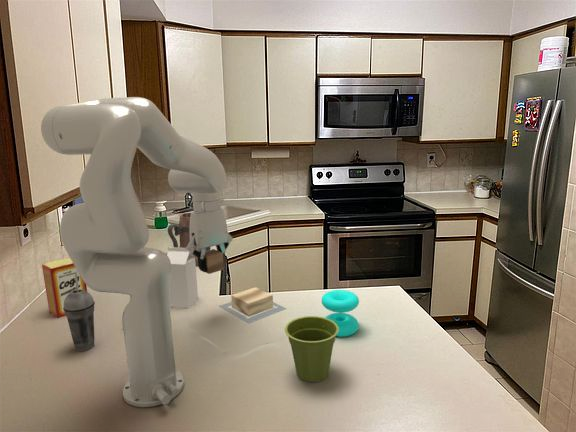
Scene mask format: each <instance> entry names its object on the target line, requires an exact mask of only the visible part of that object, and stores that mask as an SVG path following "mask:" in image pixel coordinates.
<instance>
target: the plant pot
mask: <svg viewBox="0 0 576 432" xmlns="http://www.w3.org/2000/svg"><path fill="white" fill-rule="evenodd" d="M338 331H339V328H338V325H337V324H336V323H335V322H334V321H332V320H330V319H327V318H325V317H323V316H319V315H318V316H316V315H305V316H301V317H296V318H294V319H292V320H290V321H288V323H286V325H285V326H284V332H285V334H286V336H287V337H288V342H289V344H290V347H291V352H292V357H293V362H294V367H295V371H296V372H295V373H296V375H297V377H298V378H299V379H300V380H302V381H308V382H309V383H318V382H321V381H324V380H325V379H326V378H327V377H328V375H329V372H330V365H331V360H332V354H333V349H334V344H335V342H336V337H337V336H336V335H337V334H338Z"/></svg>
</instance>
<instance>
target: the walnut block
mask: <svg viewBox="0 0 576 432" xmlns="http://www.w3.org/2000/svg"><path fill="white" fill-rule="evenodd" d="M204 258H206V265H207V272H205V273H206V274H208V275H210V274H213V273H214V274H215V273H216V272H220V271H224V270H225V262H224V260H225V259H224V260H223V252H220V251H217V249H214V248H212V249H210V250H208V251H205V256H204Z"/></svg>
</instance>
